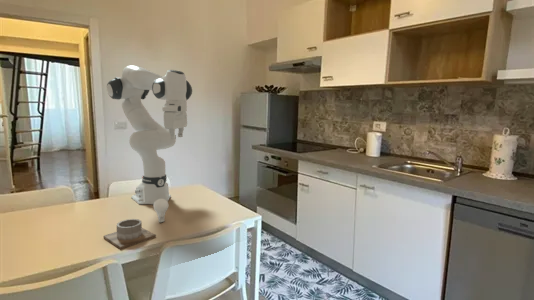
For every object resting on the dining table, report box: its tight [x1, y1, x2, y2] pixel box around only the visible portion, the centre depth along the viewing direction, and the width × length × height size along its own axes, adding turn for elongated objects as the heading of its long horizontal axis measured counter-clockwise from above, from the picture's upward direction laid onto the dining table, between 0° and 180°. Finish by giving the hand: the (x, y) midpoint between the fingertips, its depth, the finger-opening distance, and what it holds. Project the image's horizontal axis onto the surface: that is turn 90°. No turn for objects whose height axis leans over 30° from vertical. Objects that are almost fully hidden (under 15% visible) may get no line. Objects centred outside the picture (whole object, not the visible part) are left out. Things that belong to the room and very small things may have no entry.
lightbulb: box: [152, 198, 169, 224], centre depth 134 cm, size 6×6×11 cm
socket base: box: [103, 218, 157, 250], centre depth 119 cm, size 14×14×6 cm
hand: (176, 138), depth 136 cm, fingers open, 8 cm apart
